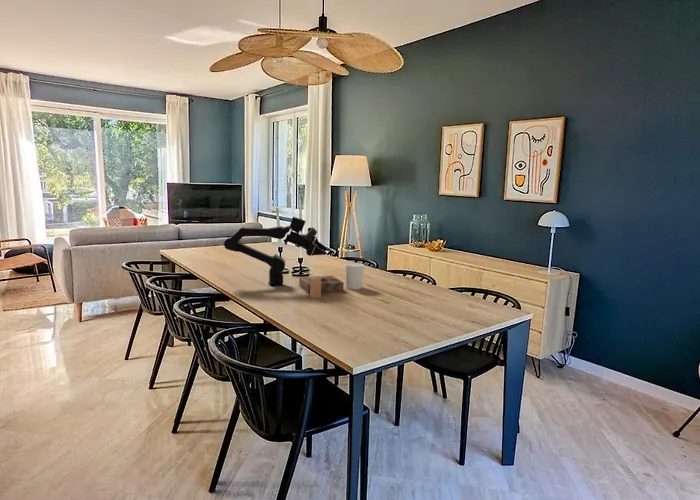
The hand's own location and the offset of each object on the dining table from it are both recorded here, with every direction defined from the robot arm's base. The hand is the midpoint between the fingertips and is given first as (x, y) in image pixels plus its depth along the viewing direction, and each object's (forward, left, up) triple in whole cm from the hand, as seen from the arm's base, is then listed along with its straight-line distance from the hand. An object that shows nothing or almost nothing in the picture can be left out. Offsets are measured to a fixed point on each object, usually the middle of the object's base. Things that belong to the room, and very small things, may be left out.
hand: (326, 251), depth 224 cm
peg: (-12, -20, -18) cm, 29 cm away
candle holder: (+12, -9, -18) cm, 23 cm away
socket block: (-5, -7, -18) cm, 20 cm away
